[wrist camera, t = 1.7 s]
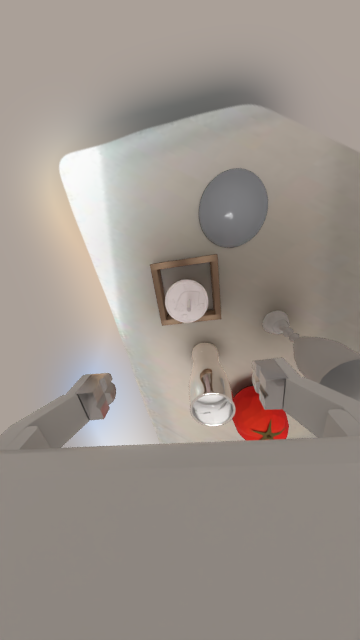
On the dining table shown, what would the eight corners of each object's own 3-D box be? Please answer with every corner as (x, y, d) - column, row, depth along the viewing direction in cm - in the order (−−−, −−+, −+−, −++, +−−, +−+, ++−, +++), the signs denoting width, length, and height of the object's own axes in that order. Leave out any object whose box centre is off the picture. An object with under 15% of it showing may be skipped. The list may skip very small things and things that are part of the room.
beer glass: (225, 347, 37) (246, 402, 23) (211, 370, 40) (223, 433, 26) (197, 335, 37) (200, 385, 23) (184, 360, 39) (181, 418, 25)
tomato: (261, 416, 44) (282, 466, 34) (219, 406, 44) (228, 453, 33) (283, 382, 40) (315, 427, 30) (237, 370, 39) (253, 411, 29)
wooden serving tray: (214, 254, 31) (217, 254, 28) (218, 313, 35) (221, 318, 32) (153, 263, 32) (149, 264, 29) (164, 320, 36) (162, 325, 33)
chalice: (255, 337, 36) (310, 408, 19) (259, 306, 34) (326, 358, 17) (290, 336, 36) (379, 410, 19) (297, 305, 33) (406, 358, 16)
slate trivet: (267, 163, 26) (269, 161, 25) (265, 242, 29) (266, 241, 29) (195, 177, 27) (195, 176, 26) (202, 251, 31) (202, 251, 30)
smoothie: (210, 291, 33) (223, 315, 20) (185, 311, 35) (182, 345, 22) (189, 265, 32) (188, 273, 19) (164, 288, 33) (148, 309, 20)
